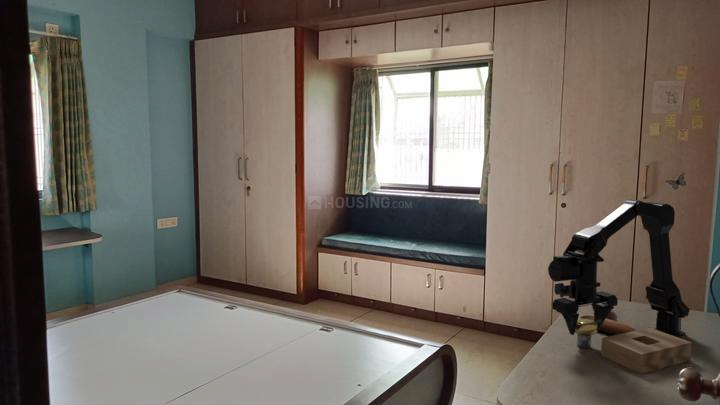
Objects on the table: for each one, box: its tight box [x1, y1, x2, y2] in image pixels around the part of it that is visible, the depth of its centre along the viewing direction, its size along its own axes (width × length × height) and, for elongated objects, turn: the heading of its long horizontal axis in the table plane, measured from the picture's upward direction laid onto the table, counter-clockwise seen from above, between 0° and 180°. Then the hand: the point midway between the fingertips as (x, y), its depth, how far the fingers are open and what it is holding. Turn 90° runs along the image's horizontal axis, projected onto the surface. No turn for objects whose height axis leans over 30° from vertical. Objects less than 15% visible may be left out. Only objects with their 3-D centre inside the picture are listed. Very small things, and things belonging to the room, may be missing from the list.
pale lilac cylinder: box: [606, 309, 618, 322], centre depth 168 cm, size 5×5×18 cm
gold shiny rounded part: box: [574, 317, 598, 350], centre depth 143 cm, size 7×7×7 cm
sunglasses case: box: [580, 315, 637, 336], centre depth 154 cm, size 18×7×7 cm
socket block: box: [601, 327, 692, 375], centre depth 134 cm, size 18×12×5 cm, turn 112°
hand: (584, 332), depth 143 cm, fingers open, 9 cm apart
